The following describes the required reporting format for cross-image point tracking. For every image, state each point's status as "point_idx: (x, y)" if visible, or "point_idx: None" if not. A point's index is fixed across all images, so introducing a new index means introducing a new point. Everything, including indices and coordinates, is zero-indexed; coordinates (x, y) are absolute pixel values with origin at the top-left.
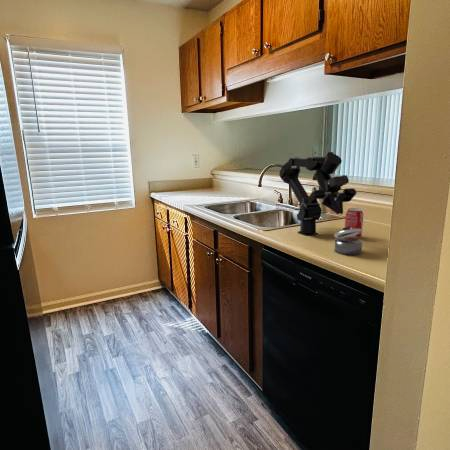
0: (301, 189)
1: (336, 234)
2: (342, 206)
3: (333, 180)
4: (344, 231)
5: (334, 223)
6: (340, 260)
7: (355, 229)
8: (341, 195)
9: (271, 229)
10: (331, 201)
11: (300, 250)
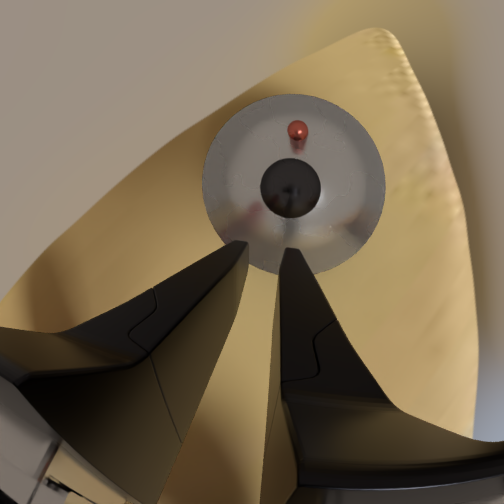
0: None
1: (382, 200)
2: (181, 274)
3: None
4: (367, 135)
5: None
6: (405, 145)
7: (303, 95)
8: (16, 351)
9: None
10: (382, 393)
11: (476, 331)
